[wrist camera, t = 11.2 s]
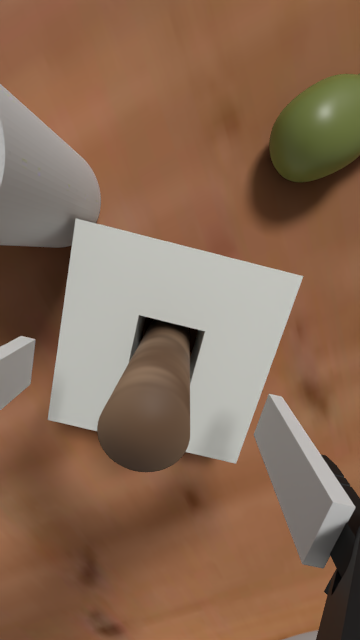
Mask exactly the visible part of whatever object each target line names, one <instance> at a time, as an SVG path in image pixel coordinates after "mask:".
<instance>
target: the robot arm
mask: <svg viewBox="0 0 360 640" xmlns="http://www.w3.org/2000/svg"><path fill="white" fill-rule="evenodd" d="M34 348H35V339H33V338H28V337H24V336H20V337H18V338H16V339H14V340H12V341H10V342H9V343H7V344H5V345H3V346H1V347H0V410H1V409H2V408H3V407H5V406H6V405H7V404H8V403H9V402H10V401H12V400H13V399H14V398H15V397H16V396H17V395H19V394H20V393H21V392H22V391H23V390H24V389H25V388H27V387H28V386H29V385H30V383H31V375H32V366H33V357H34ZM254 437H255V439H256V442H257V445H258V447H259V450H260V453H261V455H262V458H263V461H264V463H265V466H266V469H267V471H268V474H269V477H270V479H271V482H272V485H273V487H274V490H275V493H276V495H277V498H278V501H279V503H280V506H281V509H282V511H283V514H284V517H285V519H286V522H287V525H288V527H289V530H290V533H291V535H292V538H293V540H294V543H295V546H296V548H297V551H298V554H299V556H300V559H301V562H302V564H304V565H309V566H314V567H319V568H324V567H325V565H326V563H327V561H328V559H329V557H330V555H331V557H332V559H333V562H334V564H335V566H336V568H337V569H336V571H335V572H334V574H333V576H332V578H331V580H330V582H329V583H328V585H327V587H326V589H325V591H324V592H325V593H326V594H327V595H328V596H327V600H326V603H325V607H324V611H323V615H322V619H321V623H320V627H319V631H318V635H317V639H316V640H360V498H359V497H358V495H357V494H356V492H355V491H354V490H353V488H352V487H350V484H349V483H348V481H347V480H346V478H344V475H343V474H342V473H341V471H340V470H339V468H338V467H337V466H336V465H335V464H334V463H333V462H332V461H331V460H330V459H329V458H328V457H327V456H325V455H321V454H320V453H319V451H318V450H317V448H316V447H315V445H314V444H313V442H312V441H311V439H310V438H309V436H308V435H307V434H306V432H305V431H304V429H303V428H302V426H301V425H300V423H299V422H298V420H297V419H296V417H295V416H294V414H293V413H292V411H291V410H290V408H289V407H288V405H287V404H286V402H285V401H284V399H283V398H282V397H281V396H276V395H272V394H269V395H268V398H267V400H266V403H265V406H264V408H263V411H262V414H261V416H260V419H259V422H258V425H257V427H256V430H255V433H254Z"/></svg>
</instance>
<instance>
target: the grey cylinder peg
mask: <svg viewBox="0 0 360 640" xmlns="http://www.w3.org/2000/svg"><path fill="white" fill-rule="evenodd" d="M100 206H101V196H100V189H99V185H98V182H97V179H96V177H95V174H94V173H93V171H92V169H91V168H90V166H89V165H88V163H87V162H86V161H85V160H84V159H83V158H82V157H81V156H80V155H79V154H78V153H77V152H75V151H74V150H73V149H72V148H71V147H70V146H69V145H68V144H67V143H65V142H64V141H63V140H62V139H61V138H60V137H59V136H58V135H57V134H55V133H54V132H53V131H52V130H51V129H50V128H49V127H48V126H47V125H45V124H44V123H43V122H42V121H41V120H40V119H39V118H38V117H37V116H35V115H34V114H33V113H32V112H31V111H30V110H29V109H28V108H27V107H25V106H24V105H23V104H22V103H21V102H20V101H19V100H18V99H17V98H15V97H14V96H13V95H12V94H11V93H10V92H9V91H8V90H6V89H5V88H4V87H3V86H2V85H1V84H0V245H11V246H33V247H56V248H60V247H68V246H71V245H72V241H73V234H74V227H75V220H76V219H80V220H84V221H88V222H92V223H96V222H97V219H98V216H99V213H100Z"/></svg>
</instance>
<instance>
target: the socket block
mask: <svg viewBox="0 0 360 640" xmlns="http://www.w3.org/2000/svg"><path fill="white" fill-rule="evenodd" d="M302 278H303V276H300V275H296V274H292V273H288V272H284V271H280V270H276V269H272V268H269V267H265V266H261V265H257V264H253V263H249V262H245V261H241V260H237V259H233V258H229V257H225V256H221V255H218V254H214V253H210V252H206V251H202V250H198V249H194V248H190V247H186V246H182V245H178V244H174V243H170V242H167V241H163V240H159V239H155V238H151V237H147V236H143V235H139V234H135V233H131V232H127V231H123V230H120V229H116V228H112V227H108V226H104V225H100V224H96V223H92V222H88V221H84V220H80V219H76V220H75V227H74V234H73V241H72V249H71V256H70V263H69V270H68V277H67V285H66V292H65V299H64V306H63V313H62V321H61V328H60V335H59V342H58V350H57V357H56V364H55V371H54V378H53V386H52V393H51V400H50V407H49V414H48V420H51V421H55V422H59V423H64V424H68V425H72V426H77V427H81V428H85V429H89V430H94V431H97V426H98V420H99V417H100V415H101V413H102V411H103V409H104V407H105V405H106V403H107V402H108V400H109V398H110V396H111V394H112V393H113V391H114V389H115V387H116V385H117V384H118V382H119V380H120V378H121V376H122V374H123V373H124V371H125V369H126V367H127V365H128V364H129V362H130V360H131V358H132V356H133V355H134V353H135V351H136V349H137V347H138V345H139V344H140V341H141V336H142V332H143V327H144V322H145V318H146V317H149V318H153V319H157V320H161V321H165V322H169V323H173V324H177V325H181V326H185V327H189V328H193V329H198V332H197V336H196V339H195V343H194V346H193V350H192V354H191V357H190V441H189V445H188V447H187V450H186V451H185V452H188V453H192V454H197V455H201V456H205V457H210V458H214V459H218V460H223V461H227V462H231V463H235V464H236V462H237V459H238V456H239V453H240V451H241V448H242V445H243V442H244V440H245V437H246V434H247V431H248V428H249V426H250V423H251V420H252V417H253V414H254V412H255V409H256V406H257V403H258V401H259V398H260V395H261V392H262V389H263V387H264V384H265V381H266V378H267V376H268V373H269V370H270V367H271V364H272V362H273V359H274V356H275V353H276V350H277V348H278V345H279V342H280V339H281V337H282V334H283V331H284V328H285V325H286V323H287V320H288V317H289V314H290V312H291V309H292V306H293V303H294V300H295V298H296V295H297V292H298V289H299V286H300V284H301V281H302Z"/></svg>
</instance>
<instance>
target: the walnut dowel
mask: <svg viewBox="0 0 360 640" xmlns="http://www.w3.org/2000/svg"><path fill="white" fill-rule="evenodd" d="M97 433H98V439H99V442H100V444H101V446H102V448H103V450H104V451H105V453H106V454H107V455H108V456H109V457H110V458H111V459H112V460H113V461H114V462H116V463H117V464H119V465H121V466H123V467H125V468H127V469H130V470H133V471H139V472H154V471H159V470H163V469H165V468H168V467H170V466H171V465H173V464H174V463H176V462H177V461H178V460H179V459H180V458H181V457H182V456H183V455H184V453H185V451H186V450H187V447H188V445H189V441H190V333H189V329H188V327H185V326H181V325H177V324H173V323H169V322H165V321H161V320H157V319H154V320H153V321H152V323H151V324H150V326H149V327H148V329H147V331H146V333H145V335H144V336H143V338H142V340H141V342H140V344H139V345H138V347H137V349H136V351H135V353H134V355H133V356H132V358H131V360H130V362H129V364H128V365H127V367H126V369H125V371H124V373H123V374H122V376H121V378H120V380H119V382H118V384H117V385H116V387H115V389H114V391H113V393H112V394H111V396H110V398H109V400H108V402H107V403H106V405H105V407H104V409H103V411H102V413H101V415H100V417H99V420H98V426H97Z"/></svg>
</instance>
